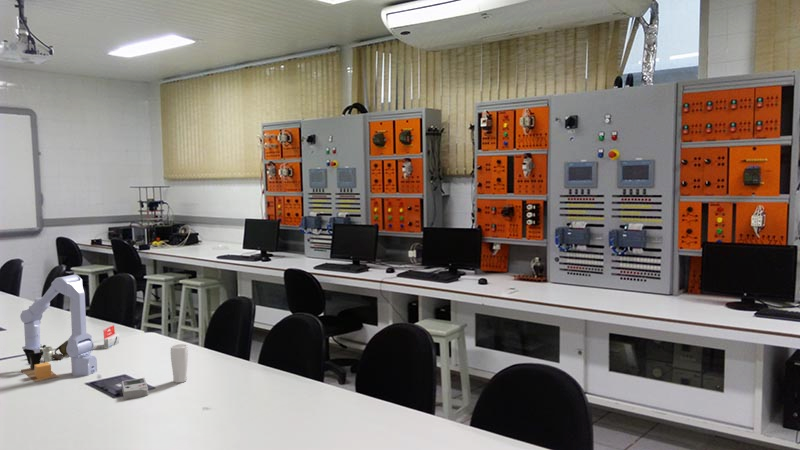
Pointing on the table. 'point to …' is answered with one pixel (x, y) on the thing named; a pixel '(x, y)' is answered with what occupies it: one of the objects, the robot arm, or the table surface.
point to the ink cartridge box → (110, 338)
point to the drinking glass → (179, 362)
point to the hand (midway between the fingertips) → (33, 365)
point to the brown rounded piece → (63, 351)
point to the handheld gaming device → (134, 388)
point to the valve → (47, 353)
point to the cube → (42, 370)
